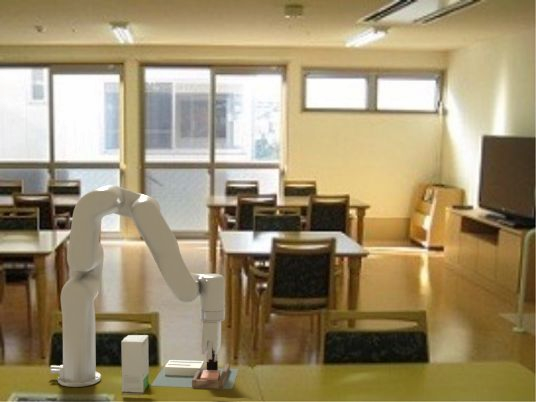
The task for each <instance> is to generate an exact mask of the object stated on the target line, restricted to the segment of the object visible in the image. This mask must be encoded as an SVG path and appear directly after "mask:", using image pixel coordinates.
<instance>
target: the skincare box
mask: <svg viewBox="0 0 536 402" xmlns="http://www.w3.org/2000/svg"><path fill="white" fill-rule="evenodd" d="M120 345H121V347H120V348H121V392H122V393H121V395H123V396H124V395H125V396H126V395H127V396H143V395H144V392H145V391H146V389H147V388H148V386H149V383H150V374H149V373H150V372H149V370H150V369H149V367H150V365H149V364H150V363H149V335H147V334H142V335H141V334H140V335H139V334H131V335H130V334H128V335H127V336H125V337H123V339H122V340H121V343H120Z"/></svg>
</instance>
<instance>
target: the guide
mask: <svg viewBox="0 0 536 402" xmlns="http://www.w3.org/2000/svg"><path fill="white" fill-rule="evenodd" d="M222 369H223V372H222V374H221V377H220V379H219V380H199V379H200V377H201V370H197V372H196V374H195V376H194V378H193V379H192V387H191V388H193V387H210V388H209V389H219V388H223V386H224V383H225V381H226V378H227V375H228V373H229V370H230V369H231V365H230V363H225V365H224V367H223V368H222Z"/></svg>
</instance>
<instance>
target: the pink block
mask: <svg viewBox="0 0 536 402" xmlns="http://www.w3.org/2000/svg"><path fill="white" fill-rule="evenodd" d="M219 379H220V370H203V373H202V375H201V380H219Z"/></svg>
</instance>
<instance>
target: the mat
mask: <svg viewBox="0 0 536 402" xmlns="http://www.w3.org/2000/svg"><path fill="white" fill-rule="evenodd" d="M165 366H166V365H165ZM165 366H163V367H162V368H161V370H160V372H159V373H158V374H157V376H156V377H155V378H154V380H153V381H152V383H151V385H150V386H151V387H168V388H169V387H171V388H175V387H176V388H196V389H211V388H210V387H192V379H193V378H194V376H183V375H165ZM223 369H224V368H219V367H218V370H220V377H221V374H222V372H223ZM204 370H207V367H204ZM239 370H240V369H239V368H230V370H229V373H228V375H227V378H226V381H225V383H224V386H223V388H218V389H224V390H232V389H233V387H234V384H235V381H236V378H237V375H238V373H239ZM202 373H203V372H202ZM201 375H202V374H201ZM199 380H201V377H200V379H199Z"/></svg>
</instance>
